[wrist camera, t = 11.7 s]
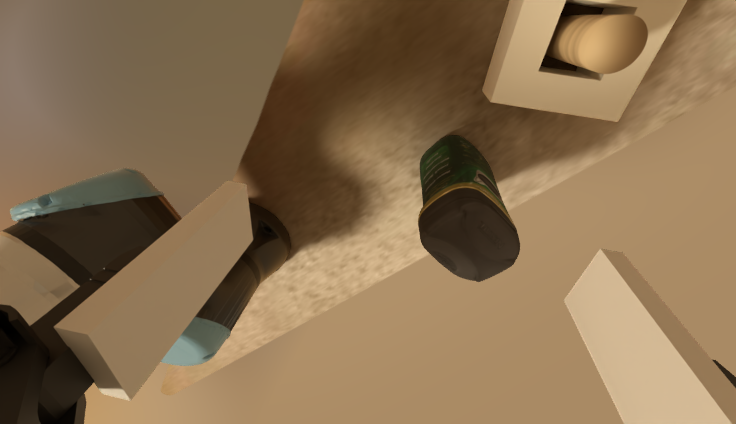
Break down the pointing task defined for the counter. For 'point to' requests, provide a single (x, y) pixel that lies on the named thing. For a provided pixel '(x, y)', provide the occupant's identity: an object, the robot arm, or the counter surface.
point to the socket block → (564, 87)
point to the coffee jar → (464, 212)
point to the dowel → (598, 41)
